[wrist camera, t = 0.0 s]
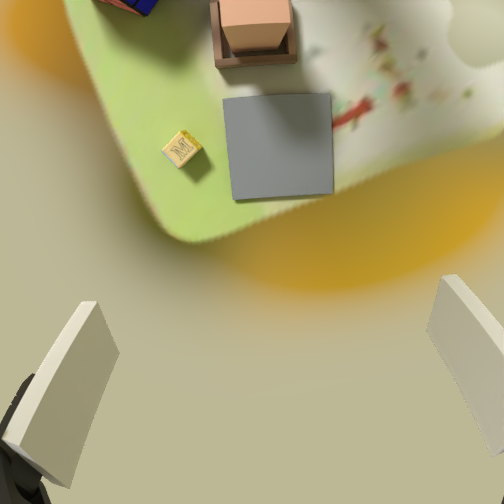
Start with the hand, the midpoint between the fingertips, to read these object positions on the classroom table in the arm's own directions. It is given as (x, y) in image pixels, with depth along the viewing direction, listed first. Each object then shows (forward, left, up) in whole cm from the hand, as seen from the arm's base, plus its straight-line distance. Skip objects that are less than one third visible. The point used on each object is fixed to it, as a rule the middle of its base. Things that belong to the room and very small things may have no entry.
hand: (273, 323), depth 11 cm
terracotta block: (-16, +1, -28) cm, 32 cm away
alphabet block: (-3, -8, -28) cm, 30 cm away
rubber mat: (-2, +3, -28) cm, 28 cm away
